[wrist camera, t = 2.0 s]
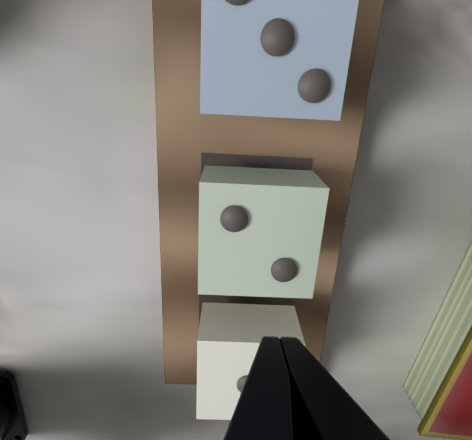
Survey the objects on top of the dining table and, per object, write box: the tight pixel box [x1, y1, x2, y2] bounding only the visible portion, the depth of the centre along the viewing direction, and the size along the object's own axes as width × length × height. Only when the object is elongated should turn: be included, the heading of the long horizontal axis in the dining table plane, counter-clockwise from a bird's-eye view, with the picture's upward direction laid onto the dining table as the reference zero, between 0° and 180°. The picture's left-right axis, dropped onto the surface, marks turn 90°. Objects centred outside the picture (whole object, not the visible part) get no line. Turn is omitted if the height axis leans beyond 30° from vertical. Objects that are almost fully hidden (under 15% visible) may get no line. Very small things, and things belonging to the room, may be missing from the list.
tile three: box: [200, 0, 359, 121], centre depth 13 cm, size 5×5×3 cm
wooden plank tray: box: [152, 0, 384, 384], centre depth 19 cm, size 25×10×2 cm, turn 177°
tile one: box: [196, 302, 305, 420], centre depth 18 cm, size 5×5×3 cm
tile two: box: [198, 165, 330, 299], centre depth 15 cm, size 5×5×3 cm
